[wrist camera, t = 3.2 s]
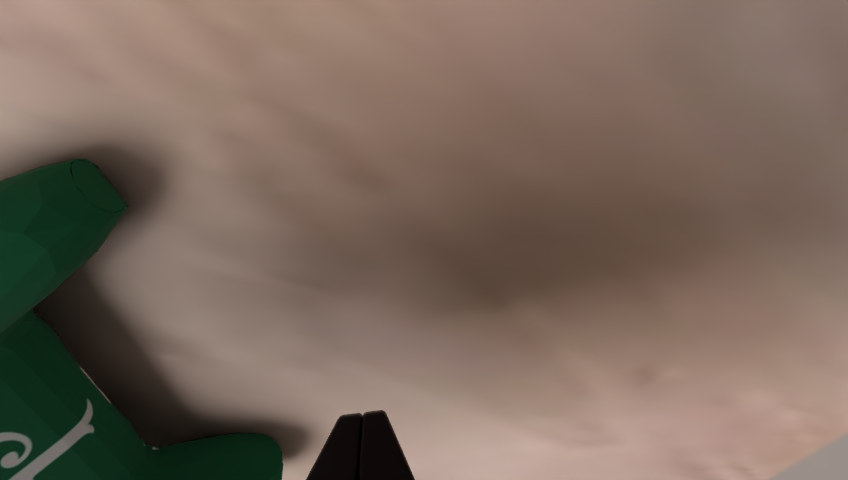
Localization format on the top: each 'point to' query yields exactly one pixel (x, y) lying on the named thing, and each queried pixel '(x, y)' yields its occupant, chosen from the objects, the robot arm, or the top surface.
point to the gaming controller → (59, 372)
